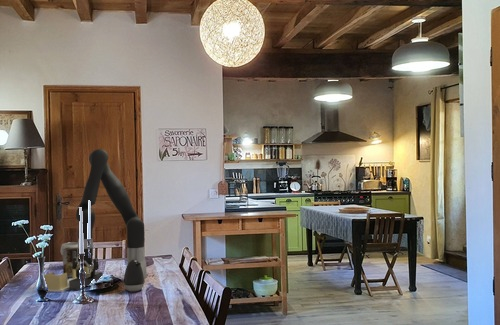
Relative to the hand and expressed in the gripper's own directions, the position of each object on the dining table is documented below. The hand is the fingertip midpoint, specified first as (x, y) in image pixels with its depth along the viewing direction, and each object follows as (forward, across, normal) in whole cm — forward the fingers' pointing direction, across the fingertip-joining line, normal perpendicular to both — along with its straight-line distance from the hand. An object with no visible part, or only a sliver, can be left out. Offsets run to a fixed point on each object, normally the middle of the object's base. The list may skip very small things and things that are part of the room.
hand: (85, 278), depth 253 cm
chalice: (+4, +37, -39) cm, 54 cm away
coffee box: (+4, +20, -17) cm, 27 cm away
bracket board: (+4, +9, 0) cm, 10 cm away
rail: (+4, -1, 0) cm, 4 cm away
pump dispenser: (+3, -32, +5) cm, 33 cm away
